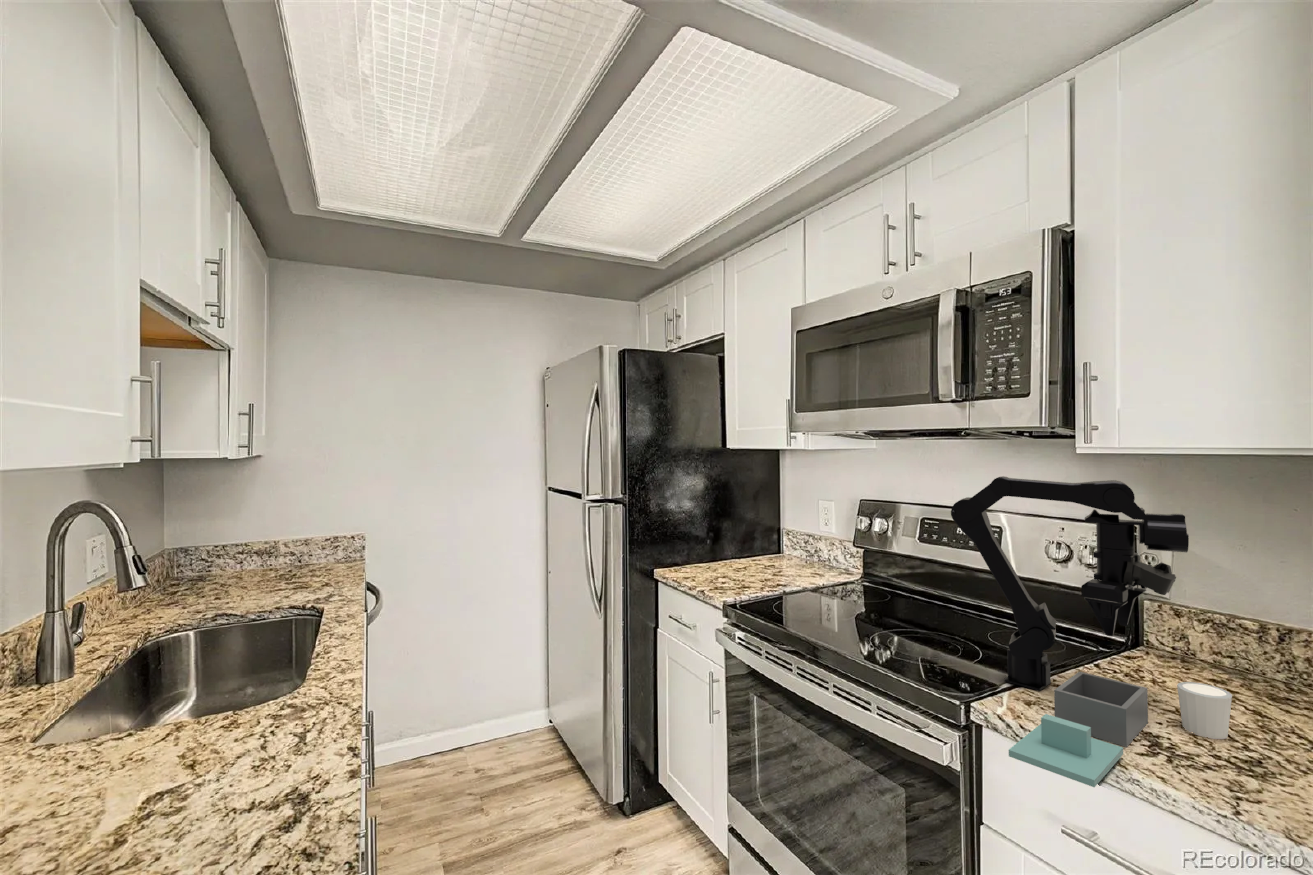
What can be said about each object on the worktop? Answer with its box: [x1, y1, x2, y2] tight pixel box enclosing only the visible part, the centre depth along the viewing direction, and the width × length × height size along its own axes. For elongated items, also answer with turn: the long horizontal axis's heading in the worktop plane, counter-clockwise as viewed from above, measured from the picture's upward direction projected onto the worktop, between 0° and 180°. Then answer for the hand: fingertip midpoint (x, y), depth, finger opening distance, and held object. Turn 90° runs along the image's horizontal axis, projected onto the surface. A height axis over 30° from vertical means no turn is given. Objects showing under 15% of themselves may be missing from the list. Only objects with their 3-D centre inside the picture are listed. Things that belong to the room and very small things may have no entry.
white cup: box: [1176, 681, 1233, 740], centre depth 101 cm, size 7×7×7 cm
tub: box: [1053, 671, 1149, 748], centre depth 104 cm, size 10×13×6 cm
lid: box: [1008, 713, 1124, 788], centre depth 93 cm, size 11×14×6 cm
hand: (1116, 630), depth 114 cm, fingers open, 9 cm apart
